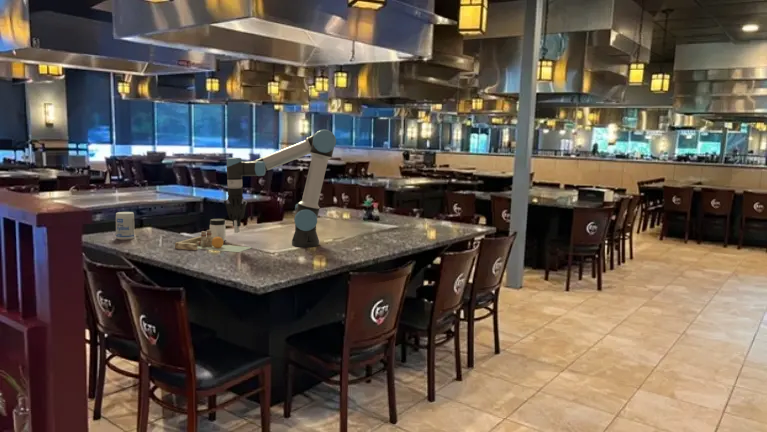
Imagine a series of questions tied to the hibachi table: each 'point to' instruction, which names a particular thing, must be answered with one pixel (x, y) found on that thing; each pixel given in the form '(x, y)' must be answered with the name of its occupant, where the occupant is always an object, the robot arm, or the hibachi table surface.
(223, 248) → the pale green board
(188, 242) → the backstop
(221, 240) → the ball
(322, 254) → the hibachi table surface
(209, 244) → the pin front
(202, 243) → the pin rear left
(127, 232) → the supplement tub
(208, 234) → the pin rear right
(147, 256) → the hibachi table surface
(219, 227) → the jar
